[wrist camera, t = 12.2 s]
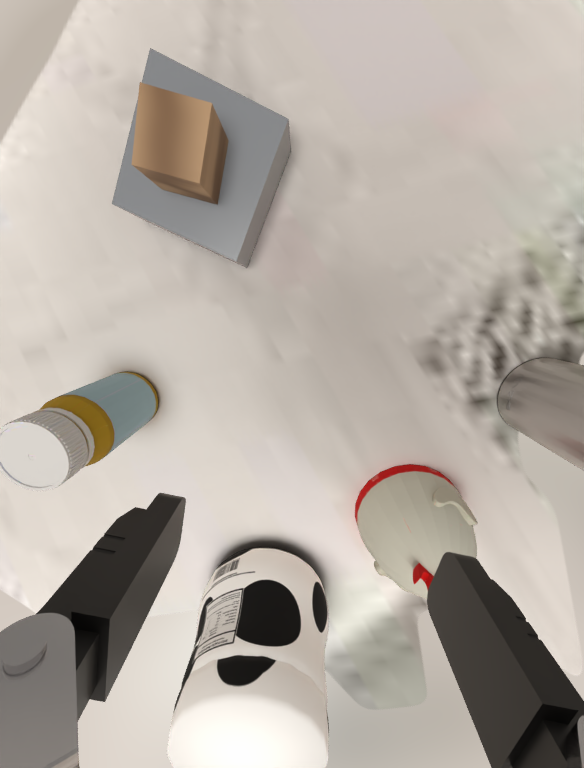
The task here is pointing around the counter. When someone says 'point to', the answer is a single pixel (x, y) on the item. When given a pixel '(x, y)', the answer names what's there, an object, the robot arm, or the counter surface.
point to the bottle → (75, 430)
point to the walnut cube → (179, 143)
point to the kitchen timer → (413, 524)
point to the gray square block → (240, 176)
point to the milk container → (256, 669)
